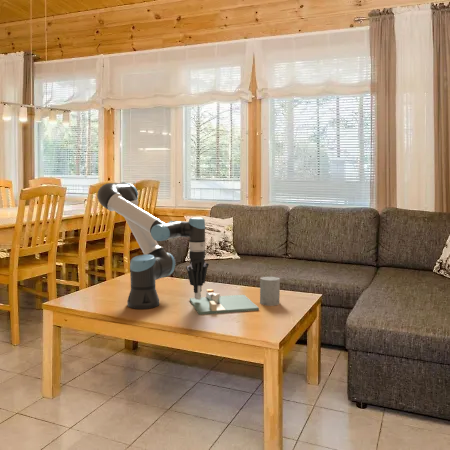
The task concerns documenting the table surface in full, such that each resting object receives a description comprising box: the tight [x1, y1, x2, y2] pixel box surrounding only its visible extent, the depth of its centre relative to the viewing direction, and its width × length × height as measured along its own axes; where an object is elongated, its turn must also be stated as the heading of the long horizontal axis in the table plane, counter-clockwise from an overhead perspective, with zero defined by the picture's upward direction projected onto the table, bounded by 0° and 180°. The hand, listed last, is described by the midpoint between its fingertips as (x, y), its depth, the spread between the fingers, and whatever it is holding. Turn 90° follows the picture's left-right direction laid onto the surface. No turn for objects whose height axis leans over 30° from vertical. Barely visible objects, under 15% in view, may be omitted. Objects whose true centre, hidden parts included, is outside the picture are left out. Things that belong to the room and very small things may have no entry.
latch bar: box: [205, 288, 221, 304], centre depth 237 cm, size 14×4×4 cm, turn 14°
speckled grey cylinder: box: [259, 275, 281, 307], centre depth 237 cm, size 10×10×12 cm
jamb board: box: [189, 294, 260, 315], centre depth 234 cm, size 28×24×4 cm
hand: (197, 298), depth 235 cm, fingers closed
